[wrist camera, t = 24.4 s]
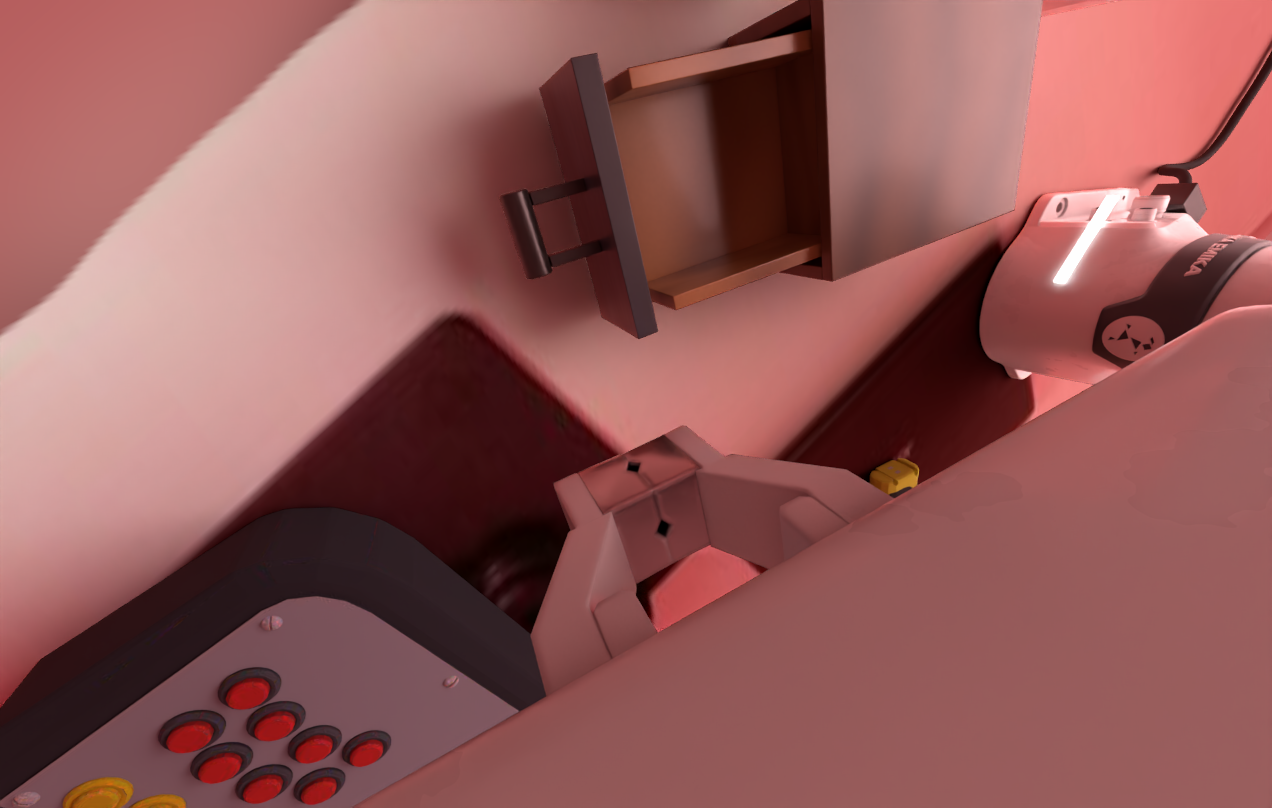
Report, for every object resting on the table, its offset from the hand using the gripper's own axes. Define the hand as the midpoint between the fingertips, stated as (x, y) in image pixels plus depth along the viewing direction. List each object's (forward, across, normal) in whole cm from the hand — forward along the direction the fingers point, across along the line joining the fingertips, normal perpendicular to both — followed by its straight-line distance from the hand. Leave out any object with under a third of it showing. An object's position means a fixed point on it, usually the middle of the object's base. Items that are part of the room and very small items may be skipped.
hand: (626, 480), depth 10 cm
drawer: (+20, -11, -4) cm, 23 cm away
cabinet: (+21, -26, -4) cm, 34 cm away
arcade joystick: (+21, +17, +22) cm, 35 cm away
